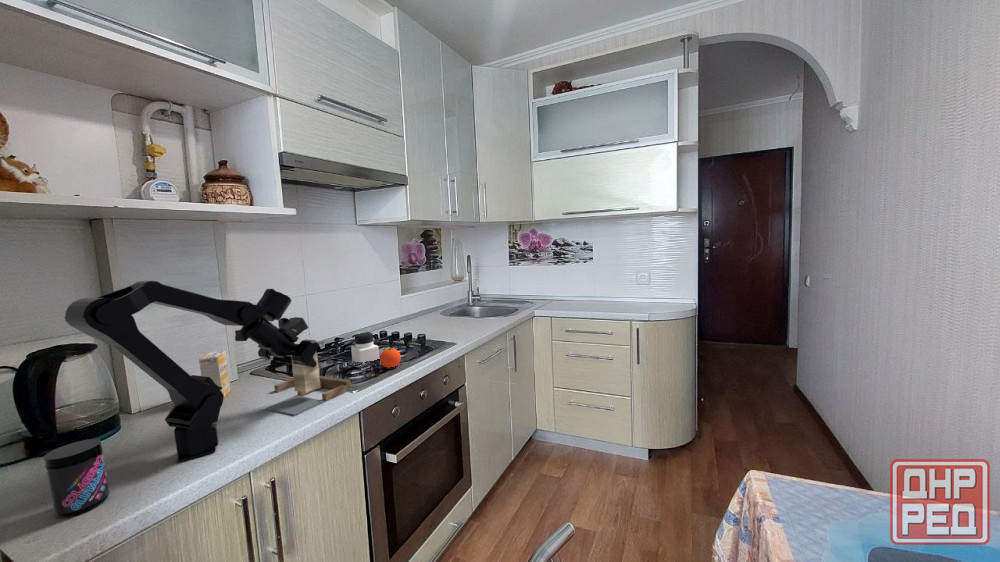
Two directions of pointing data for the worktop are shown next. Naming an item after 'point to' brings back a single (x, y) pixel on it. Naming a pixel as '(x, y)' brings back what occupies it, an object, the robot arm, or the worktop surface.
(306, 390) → the beech block
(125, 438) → the worktop surface
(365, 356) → the medicine bottle
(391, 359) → the clementine
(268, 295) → the robot arm
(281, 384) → the lane rack
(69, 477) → the supplement container
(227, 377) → the supplement box
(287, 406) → the rubber mat
